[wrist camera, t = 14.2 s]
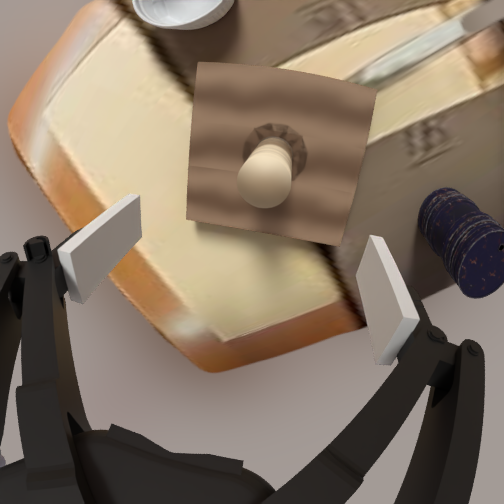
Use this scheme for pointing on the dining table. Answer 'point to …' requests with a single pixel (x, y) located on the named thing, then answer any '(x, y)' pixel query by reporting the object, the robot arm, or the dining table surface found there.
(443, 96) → the dining table surface
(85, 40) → the dining table surface
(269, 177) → the beech leg
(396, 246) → the dining table surface
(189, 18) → the ramekin
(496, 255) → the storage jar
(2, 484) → the robot arm
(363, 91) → the walnut board
